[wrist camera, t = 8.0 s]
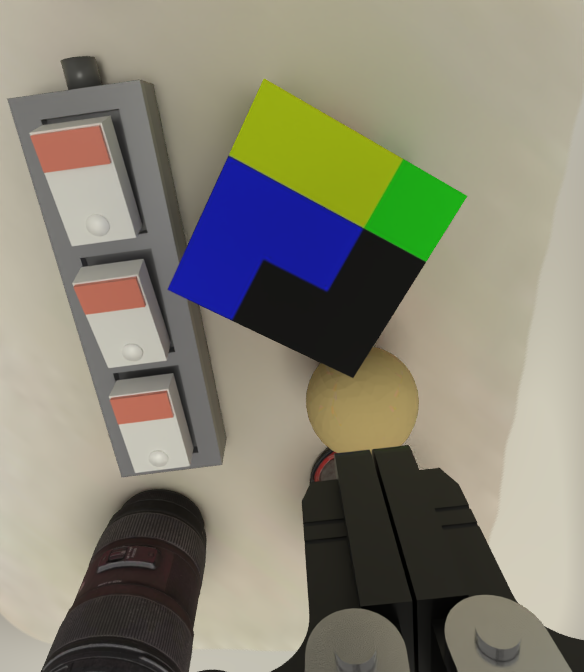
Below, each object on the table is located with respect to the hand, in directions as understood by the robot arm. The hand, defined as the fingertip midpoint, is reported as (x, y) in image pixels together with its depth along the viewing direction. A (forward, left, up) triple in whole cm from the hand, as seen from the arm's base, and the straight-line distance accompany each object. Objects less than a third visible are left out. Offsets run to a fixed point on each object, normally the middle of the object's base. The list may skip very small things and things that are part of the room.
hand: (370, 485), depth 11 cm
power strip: (+2, -11, -25) cm, 27 cm away
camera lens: (+21, -14, -25) cm, 36 cm away
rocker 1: (-6, -11, -21) cm, 25 cm away
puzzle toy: (-2, 0, -25) cm, 25 cm away
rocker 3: (+9, -11, -21) cm, 26 cm away
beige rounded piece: (+8, +2, -25) cm, 26 cm away
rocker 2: (+2, -11, -21) cm, 24 cm away
